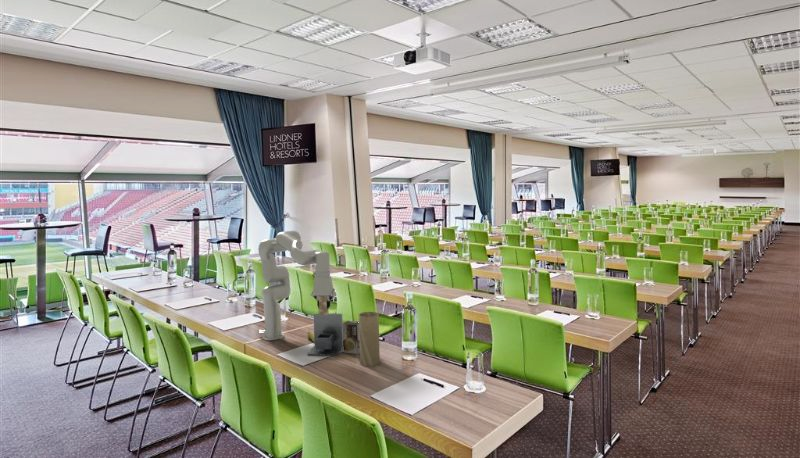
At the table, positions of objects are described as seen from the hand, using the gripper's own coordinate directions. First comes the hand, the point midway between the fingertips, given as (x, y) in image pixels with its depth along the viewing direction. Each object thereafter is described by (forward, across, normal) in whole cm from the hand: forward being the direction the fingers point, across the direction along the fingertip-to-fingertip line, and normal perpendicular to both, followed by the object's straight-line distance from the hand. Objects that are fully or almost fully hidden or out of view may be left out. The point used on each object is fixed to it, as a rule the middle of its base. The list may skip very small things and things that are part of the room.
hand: (323, 307), depth 258 cm
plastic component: (+25, -6, +24) cm, 35 cm away
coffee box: (+25, +15, +2) cm, 29 cm away
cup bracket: (+25, 0, +2) cm, 25 cm away
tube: (+25, +27, -14) cm, 39 cm away
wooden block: (+4, 0, 0) cm, 4 cm away
